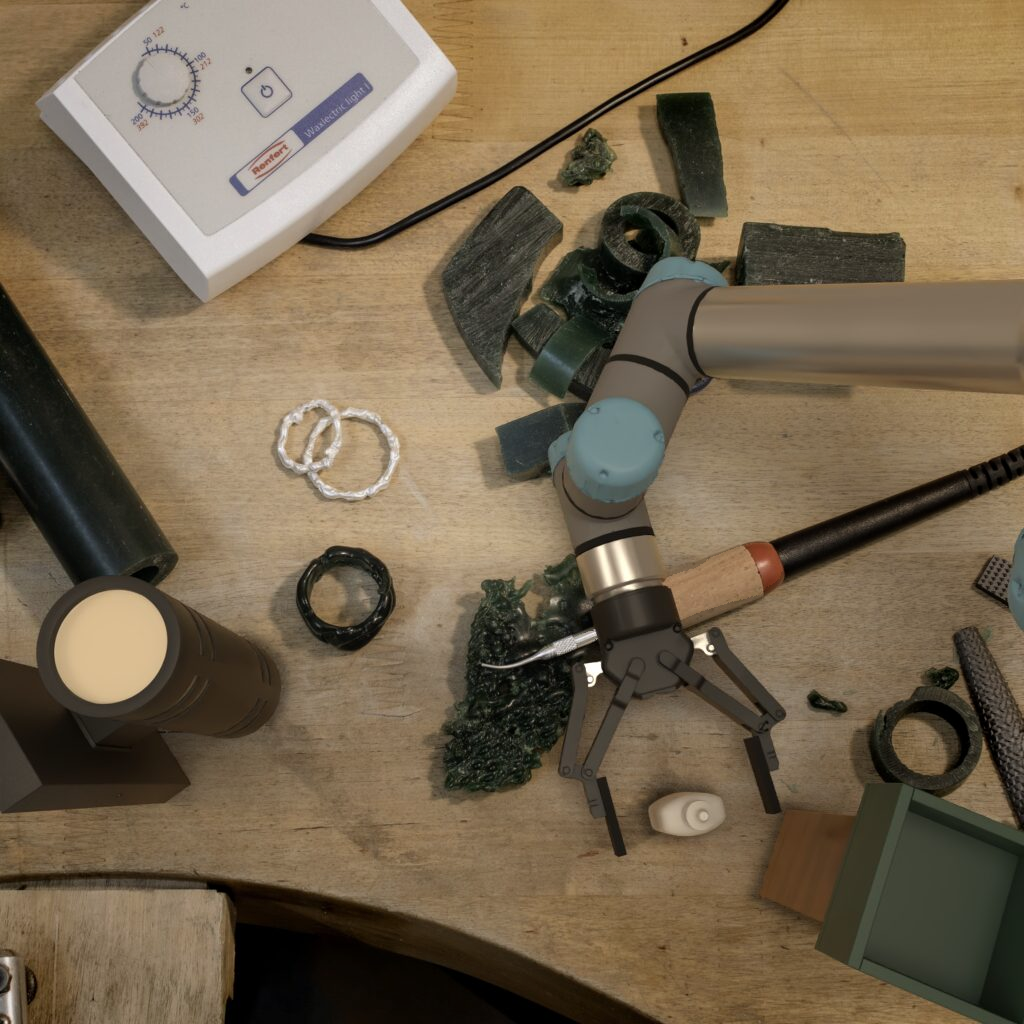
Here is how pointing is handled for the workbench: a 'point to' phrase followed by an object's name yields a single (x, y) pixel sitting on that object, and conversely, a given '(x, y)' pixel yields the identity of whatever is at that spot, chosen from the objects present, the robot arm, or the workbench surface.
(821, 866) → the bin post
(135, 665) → the light fixture
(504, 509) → the workbench surface
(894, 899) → the waste bin
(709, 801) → the eye dropper bottle
